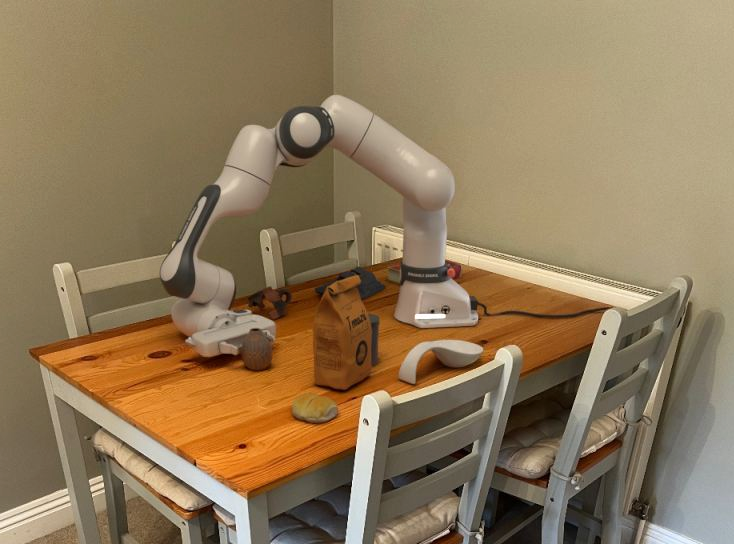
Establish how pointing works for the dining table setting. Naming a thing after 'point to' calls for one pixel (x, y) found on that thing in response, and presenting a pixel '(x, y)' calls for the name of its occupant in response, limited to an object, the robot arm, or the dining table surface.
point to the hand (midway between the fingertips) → (255, 345)
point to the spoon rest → (440, 356)
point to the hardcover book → (395, 271)
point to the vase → (256, 350)
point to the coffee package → (341, 336)
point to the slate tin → (374, 337)
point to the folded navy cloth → (365, 288)
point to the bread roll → (314, 408)
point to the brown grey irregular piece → (271, 300)
